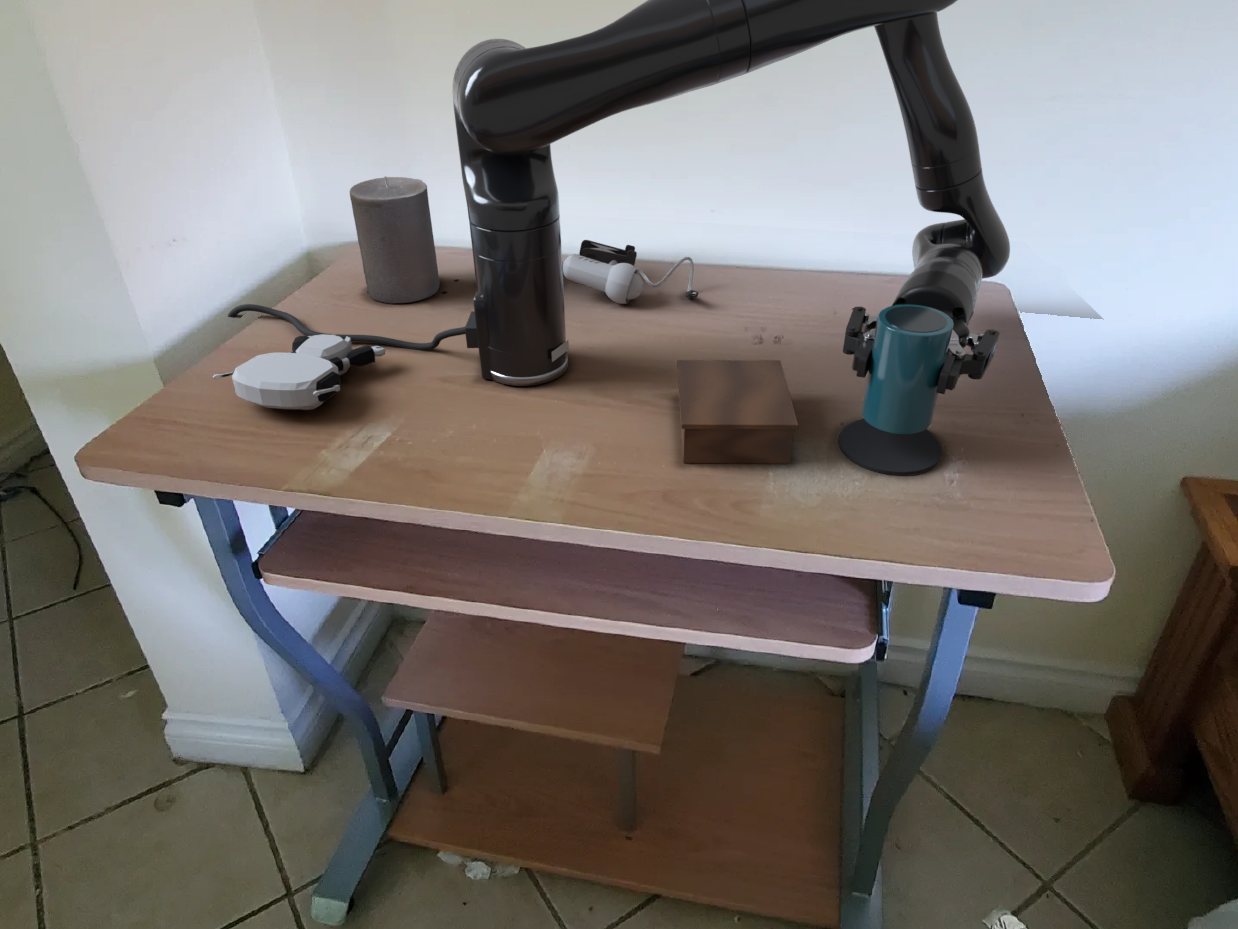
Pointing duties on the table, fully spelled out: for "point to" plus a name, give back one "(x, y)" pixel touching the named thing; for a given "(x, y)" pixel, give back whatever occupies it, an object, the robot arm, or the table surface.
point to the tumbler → (906, 368)
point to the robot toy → (300, 372)
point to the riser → (735, 411)
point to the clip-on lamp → (613, 271)
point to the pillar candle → (395, 239)
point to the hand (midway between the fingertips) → (901, 375)
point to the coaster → (889, 449)
